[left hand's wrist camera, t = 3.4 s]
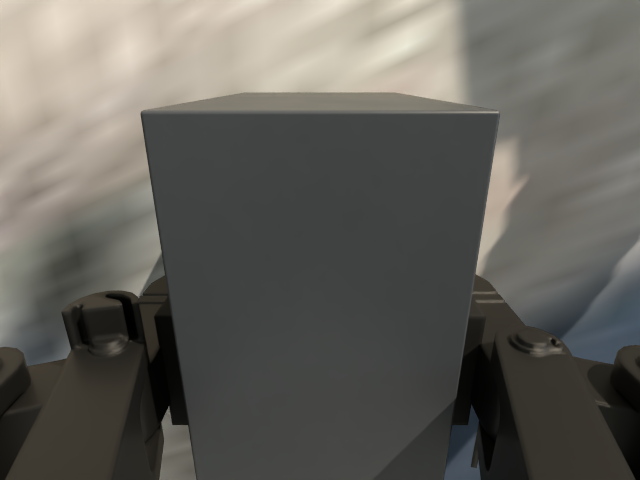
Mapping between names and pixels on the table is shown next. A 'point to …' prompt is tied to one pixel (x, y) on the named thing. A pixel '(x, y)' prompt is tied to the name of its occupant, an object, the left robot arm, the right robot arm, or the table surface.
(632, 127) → the table surface
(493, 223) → the table surface
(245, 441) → the beam
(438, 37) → the table surface
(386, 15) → the table surface
